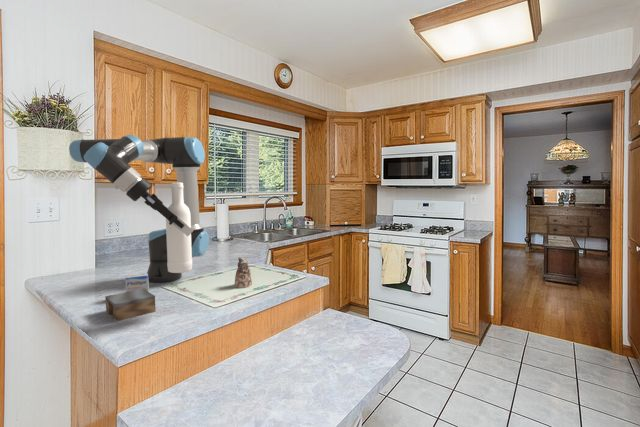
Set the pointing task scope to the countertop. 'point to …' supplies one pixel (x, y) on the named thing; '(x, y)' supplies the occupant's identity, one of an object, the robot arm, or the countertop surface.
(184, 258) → the bottle
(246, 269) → the figurine
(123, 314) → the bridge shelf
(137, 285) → the medicine box
